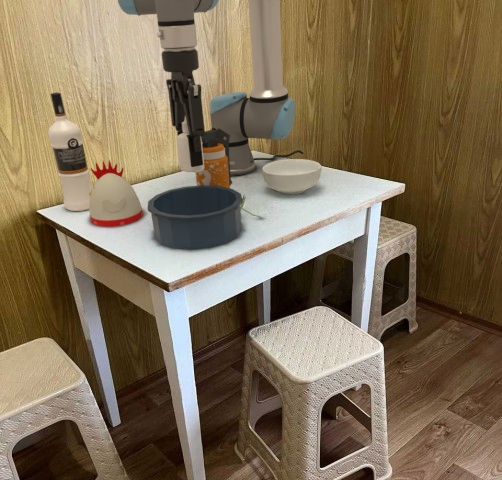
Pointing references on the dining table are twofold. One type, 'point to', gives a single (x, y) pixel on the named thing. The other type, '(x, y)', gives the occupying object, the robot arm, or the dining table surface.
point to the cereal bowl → (291, 175)
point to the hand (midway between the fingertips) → (191, 162)
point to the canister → (215, 159)
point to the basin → (196, 216)
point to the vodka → (70, 159)
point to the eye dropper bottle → (186, 151)
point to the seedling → (244, 209)
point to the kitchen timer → (113, 199)
